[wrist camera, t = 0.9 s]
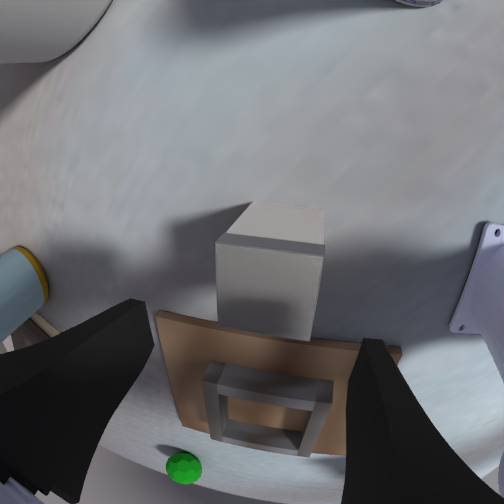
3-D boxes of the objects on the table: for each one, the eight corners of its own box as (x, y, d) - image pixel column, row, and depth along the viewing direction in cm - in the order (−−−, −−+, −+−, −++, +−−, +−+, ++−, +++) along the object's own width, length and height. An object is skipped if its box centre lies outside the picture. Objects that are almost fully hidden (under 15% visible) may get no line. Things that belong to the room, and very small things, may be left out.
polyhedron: (195, 449, 32) (183, 477, 28) (212, 464, 34) (201, 491, 29) (167, 444, 34) (154, 470, 30) (184, 460, 35) (173, 484, 31)
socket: (400, 346, 18) (406, 377, 16) (345, 449, 25) (344, 472, 23) (160, 310, 22) (140, 333, 19) (185, 420, 29) (175, 440, 26)
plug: (325, 208, 16) (324, 255, 10) (316, 274, 18) (309, 341, 12) (251, 200, 17) (215, 241, 11) (249, 265, 18) (218, 326, 13)
